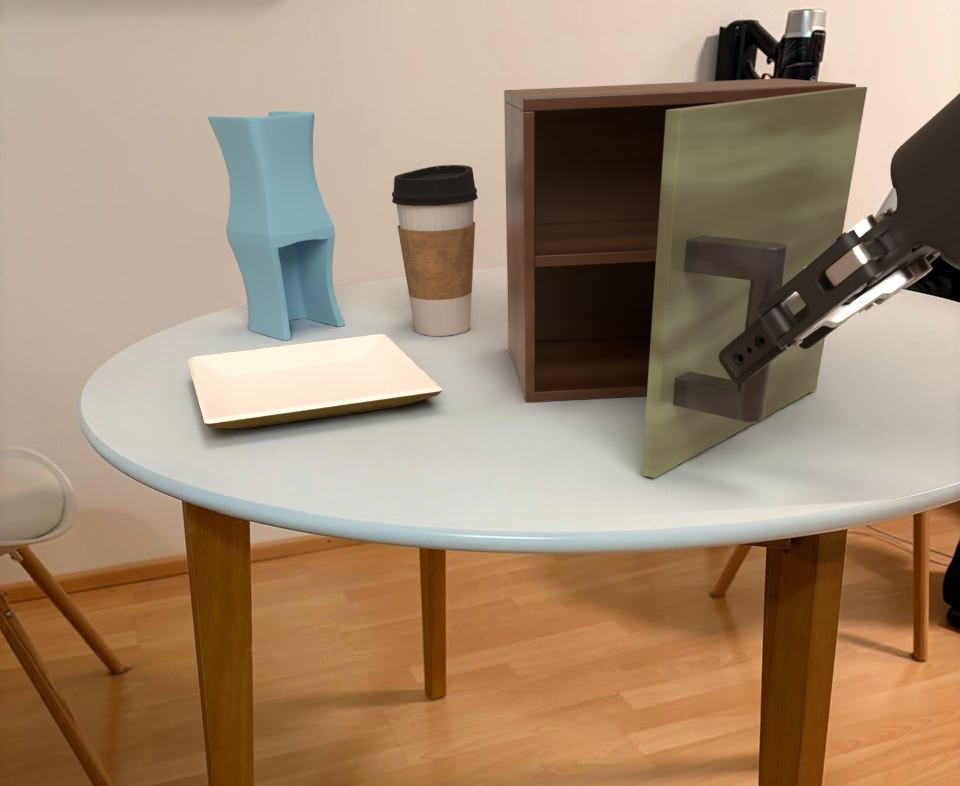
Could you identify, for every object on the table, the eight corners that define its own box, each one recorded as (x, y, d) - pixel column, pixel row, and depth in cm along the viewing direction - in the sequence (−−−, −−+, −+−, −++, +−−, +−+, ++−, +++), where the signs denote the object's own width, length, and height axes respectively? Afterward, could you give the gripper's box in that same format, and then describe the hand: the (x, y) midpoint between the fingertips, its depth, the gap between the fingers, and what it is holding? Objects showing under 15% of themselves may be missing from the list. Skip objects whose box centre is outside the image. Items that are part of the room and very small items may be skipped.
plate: (191, 379, 84) (186, 356, 82) (387, 354, 88) (386, 332, 87) (209, 447, 69) (204, 421, 68) (445, 412, 74) (443, 387, 72)
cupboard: (807, 387, 76) (856, 84, 64) (525, 402, 75) (523, 98, 63) (747, 336, 89) (780, 78, 77) (508, 349, 88) (504, 90, 77)
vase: (302, 314, 103) (275, 110, 92) (345, 325, 98) (321, 112, 88) (242, 328, 99) (206, 116, 88) (284, 340, 94) (251, 118, 83)
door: (887, 403, 71) (955, 86, 60) (732, 502, 57) (782, 111, 46) (805, 387, 75) (853, 86, 64) (641, 475, 61) (665, 109, 50)
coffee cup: (498, 326, 96) (495, 167, 87) (439, 344, 91) (429, 176, 83) (445, 314, 101) (436, 162, 93) (385, 330, 96) (371, 171, 88)
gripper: (1026, 69, 46) (783, 279, 59) (925, 82, 38) (665, 326, 50) (1109, 190, 46) (847, 375, 59) (1027, 232, 38) (741, 438, 50)
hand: (764, 352), depth 55 cm, fingers open, 8 cm apart
